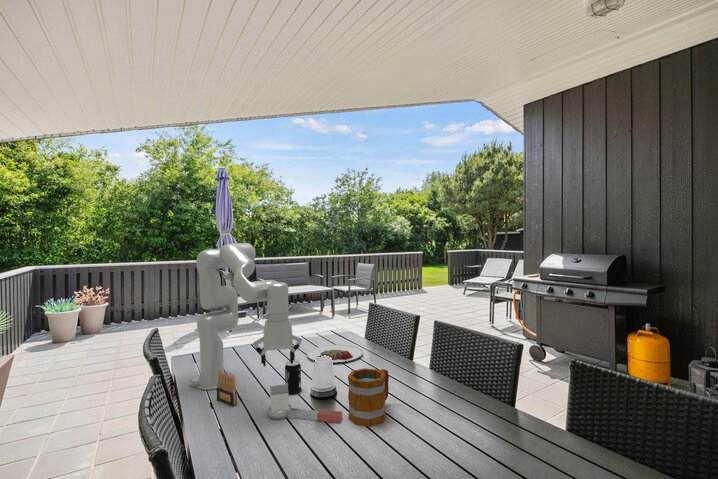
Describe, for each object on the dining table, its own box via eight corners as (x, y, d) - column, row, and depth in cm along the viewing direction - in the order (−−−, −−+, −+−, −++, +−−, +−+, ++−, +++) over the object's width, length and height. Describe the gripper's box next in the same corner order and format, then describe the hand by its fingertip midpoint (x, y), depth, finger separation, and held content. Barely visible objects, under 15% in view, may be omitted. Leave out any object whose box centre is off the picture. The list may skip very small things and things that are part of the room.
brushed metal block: (271, 412, 133) (271, 392, 133) (270, 405, 139) (270, 386, 139) (288, 410, 135) (288, 390, 135) (287, 403, 141) (286, 384, 141)
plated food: (315, 347, 221) (315, 341, 221) (366, 348, 217) (366, 342, 217) (299, 364, 191) (299, 357, 191) (358, 366, 187) (358, 359, 187)
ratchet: (264, 418, 134) (264, 401, 134) (274, 408, 142) (274, 392, 142) (337, 426, 128) (337, 408, 128) (344, 415, 135) (343, 398, 135)
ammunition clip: (237, 405, 145) (236, 373, 145) (233, 406, 144) (232, 375, 144) (220, 398, 152) (220, 368, 152) (216, 400, 150) (216, 369, 150)
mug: (371, 430, 124) (370, 385, 124) (340, 419, 133) (339, 376, 133) (403, 408, 140) (402, 368, 140) (373, 399, 148) (372, 361, 148)
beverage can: (297, 395, 153) (297, 365, 153) (282, 394, 155) (282, 365, 154) (303, 389, 160) (303, 360, 160) (288, 388, 161) (288, 359, 161)
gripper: (253, 320, 131) (253, 370, 131) (303, 317, 136) (303, 365, 136) (252, 316, 138) (253, 362, 138) (300, 313, 143) (300, 358, 143)
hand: (278, 363), depth 137 cm, fingers open, 9 cm apart
